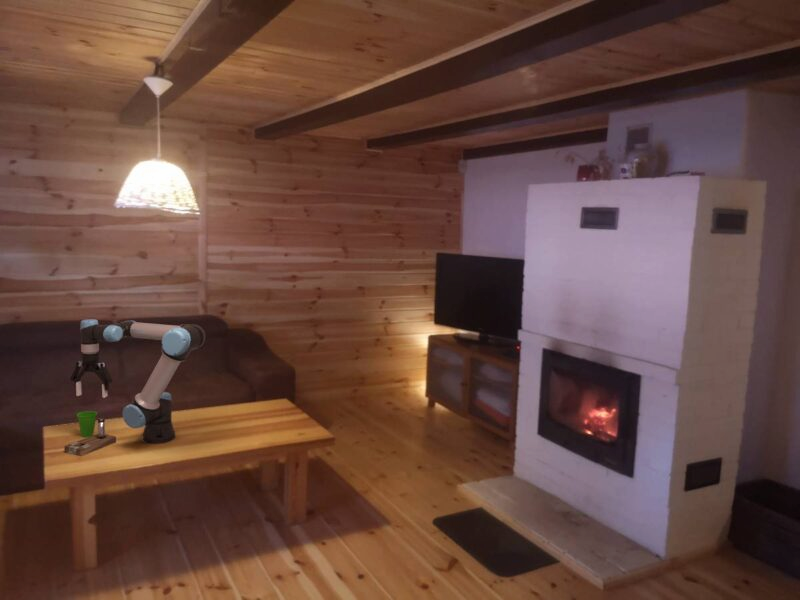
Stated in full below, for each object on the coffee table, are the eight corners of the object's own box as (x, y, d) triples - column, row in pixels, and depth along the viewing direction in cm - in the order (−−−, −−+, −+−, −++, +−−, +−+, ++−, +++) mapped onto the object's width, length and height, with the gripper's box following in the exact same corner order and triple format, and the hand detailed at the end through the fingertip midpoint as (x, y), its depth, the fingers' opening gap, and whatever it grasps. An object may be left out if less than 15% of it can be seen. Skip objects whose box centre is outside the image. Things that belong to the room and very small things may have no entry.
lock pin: (106, 442, 300) (106, 418, 298) (101, 444, 297) (100, 420, 295) (101, 441, 301) (101, 417, 299) (96, 443, 298) (96, 419, 296)
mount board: (116, 442, 301) (116, 436, 300) (80, 456, 282) (80, 449, 282) (100, 439, 304) (100, 432, 304) (64, 452, 286) (64, 445, 285)
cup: (89, 439, 303) (88, 417, 302) (72, 437, 305) (72, 415, 303) (101, 433, 312) (101, 412, 310) (85, 431, 314) (85, 410, 312)
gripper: (119, 352, 299) (120, 395, 301) (71, 349, 303) (73, 392, 305) (109, 355, 292) (111, 399, 294) (60, 352, 296) (62, 396, 298)
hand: (92, 396), depth 300 cm, fingers open, 13 cm apart
